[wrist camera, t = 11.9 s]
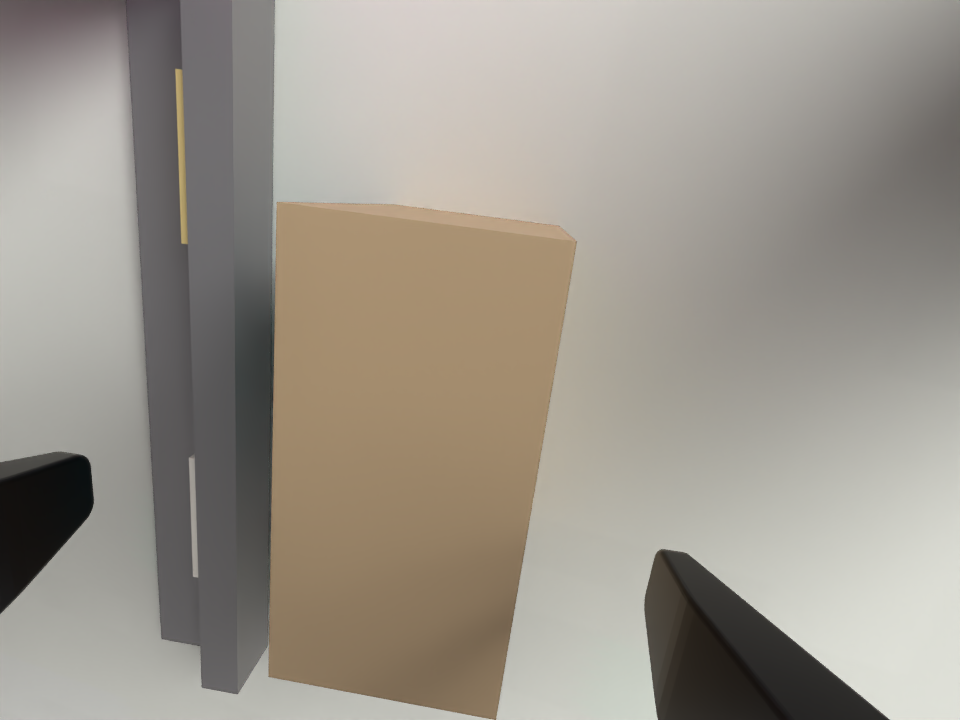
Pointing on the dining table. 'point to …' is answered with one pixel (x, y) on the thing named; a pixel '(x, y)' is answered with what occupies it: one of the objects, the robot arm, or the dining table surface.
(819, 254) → the dining table surface
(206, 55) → the rail
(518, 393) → the carton
